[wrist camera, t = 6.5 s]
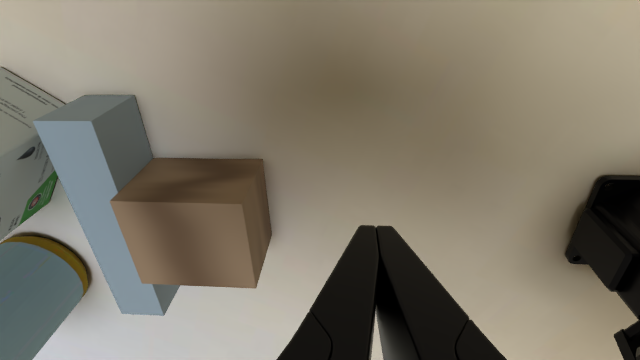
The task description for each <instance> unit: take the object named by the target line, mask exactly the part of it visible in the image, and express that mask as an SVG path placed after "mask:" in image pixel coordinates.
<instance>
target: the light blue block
mask: <svg viewBox="0 0 640 360" xmlns="http://www.w3.org/2000/svg"><path fill="white" fill-rule="evenodd" d="M33 123H34V125H35V127H36V130H37V132H38V134H39V136H40V138H41V140H42V143H43V145H44V147H45V149H46V151H47V153H48V155H49V158H50V160H51V162H52V164H53V166H54V168H55V171H56V173H57V175H58V177H59V179H60V181H61V184H62V186H63V188H64V190H65V192H66V194H67V197H68V199H69V201H70V203H71V205H72V207H73V209H74V212H75V214H76V216H77V218H78V220H79V222H80V225H81V227H82V229H83V231H84V233H85V235H86V238H87V240H88V242H89V244H90V246H91V248H92V251H93V253H94V255H95V257H96V259H97V261H98V263H99V266H100V268H101V270H102V272H103V274H104V276H105V279H106V281H107V283H108V285H109V287H110V289H111V292H112V294H113V296H114V298H115V300H116V302H117V305H118V307H119V309H120V311H121V313H122V314H140V315H160V316H164V315H165V313H166V311H167V309H168V307H169V305H170V303H171V301H172V300H173V298H174V296H175V294H176V292H177V290H178V288H179V287H180V285H164V284H142V283H141V280H140V278H139V275H138V272H137V270H136V267H135V265H134V262H133V260H132V257H131V255H130V252H129V250H128V247H127V244H126V242H125V239H124V237H123V234H122V232H121V229H120V227H119V224H118V222H117V219H116V217H115V214H114V211H113V209H112V206H111V204H110V200H111V199H112V198H113V197H114V196H115V195H116V194H117V193H118V192H119V191H120V190H121V189H122V188H123V187H124V186H125V185H126V184H128V183H129V182H130V181H131V180H132V179H133V178H134V177H135V176H136V175H137V174H138V173H139V172H140V171H141V170H142V169H143V168H144V167H145V166H146V165H147V164H148V163H149V162H150V161H151V160H152V159H153V156H152V153H151V150H150V146H149V143H148V139H147V136H146V133H145V129H144V126H143V123H142V119H141V116H140V113H139V109H138V106H137V102H136V99H135V96H134V95H84V96H82V97H80V98H78V99H76V100H74V101H72V102H70V103H68V104H66V105H64V106H62V107H60V108H58V109H56V110H54V111H52V112H50V113H48V114H46V115H44V116H41V117H39V118H37V119H35V120H33Z"/></svg>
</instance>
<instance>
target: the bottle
mask: <svg viewBox="0 0 640 360" xmlns="http://www.w3.org/2000/svg"><path fill="white" fill-rule="evenodd" d="M87 288H88V280H87V273H86V269H85V267H84V265H83V264H82V262H81V260H80V259H79V258H78V257H77V256H76V255H75V254H74V253H73V252H72V251H70V250H69V249H67V248H66V247H64V246H63V245H61V244H59V243H57V242H54V241H52V240H50V239H46V238H42V237H38V236H23V237H12V238H9V239H6V240H4V241H3V242H2V243H0V360H32V359H33V358H34V357H35V356H36V354H37V353H38V352H39V351H40V349H41V348H42V347H43V346H44V344H45V343H46V342H47V341H48V339H49V338H50V337H51V336H52V335H53V333H54V332H55V331H56V330H57V328H58V327H59V326H60V325H61V323H62V322H63V321H64V320H65V318H66V317H67V316H68V315H69V313H70V312H71V311H72V310H73V309H74V307H75V306H76V305H77V304H78V302H79V301H80V300H81V298H82V297H83V296H84V294H85V293H86V291H87Z"/></svg>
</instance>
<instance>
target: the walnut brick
mask: <svg viewBox="0 0 640 360" xmlns="http://www.w3.org/2000/svg"><path fill="white" fill-rule="evenodd" d="M110 204H111V206H112V209H113V211H114V214H115V217H116V219H117V222H118V224H119V227H120V229H121V232H122V234H123V237H124V239H125V242H126V244H127V247H128V250H129V252H130V255H131V257H132V260H133V262H134V265H135V267H136V270H137V272H138V275H139V278H140V280H141V283H142V284H164V285H188V286H213V287H237V288H256V287H257V283H258V280H259V277H260V273H261V270H262V266H263V263H264V260H265V256H266V253H267V250H268V246H269V243H270V239H271V236H272V233H271V225H270V216H269V208H268V200H267V192H266V183H265V175H264V167H263V159H200V158H153V159H152V160H151V161H150V162H149V163H148V164H147V165H146V166H145V167H144V168H143V169H142V170H141V171H140V172H139V173H138V174H137V175H136V176H135V177H134V178H133V179H132V180H131V181H130V182H129V183H128V184H126V185H125V186H124V187H123V188H122V189H121V190H120V191H119V192H118V193H117V194H116V195H115V196H114V197H113V198H112V199H111V200H110Z"/></svg>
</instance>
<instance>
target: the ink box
mask: <svg viewBox="0 0 640 360" xmlns="http://www.w3.org/2000/svg"><path fill="white" fill-rule="evenodd" d="M64 105H65V104H63V103H62V102H60V101H59V100H57V99H55V98H54V97H52V96H50V95H49V94H47V93H45V92H43V91H42V90H40V89H38V88H37V87H35V86H33V85H31V84H30V83H28V82H26V81H24V80H23V79H21V78H19V77H17V76H15V75H14V74H12V73H10V72H9V71H7V70H5V69H3V68H1V67H0V240H2V239H3V238H4V237H5V236H7V235H8V234H9V233H10V232H12V231H13V230H14V229H15V228H17V227H18V226H19V225H20V224H22V223H23V222H24V221H26V220H27V219H28V218H29V217H31V216H32V215H33V214H35V213H36V212H37V211H39V210H40V209H41V208H42V207H44V206H45V205H46V204H48V203H49V200H50V197H51V194H52V191H53V188H54V185H55V182H56V179H57V176H58V175H57V173H56V171H55V168H54V166H53V164H52V162H51V160H50V158H49V155H48V153H47V151H46V149H45V147H44V145H43V143H42V140H41V138H40V136H39V134H38V132H37V130H36V127H35V125H34V123H33V120H35V119H37V118H39V117H41V116H44V115H46V114H48V113H50V112H52V111H54V110H56V109H58V108H60V107H62V106H64Z"/></svg>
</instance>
